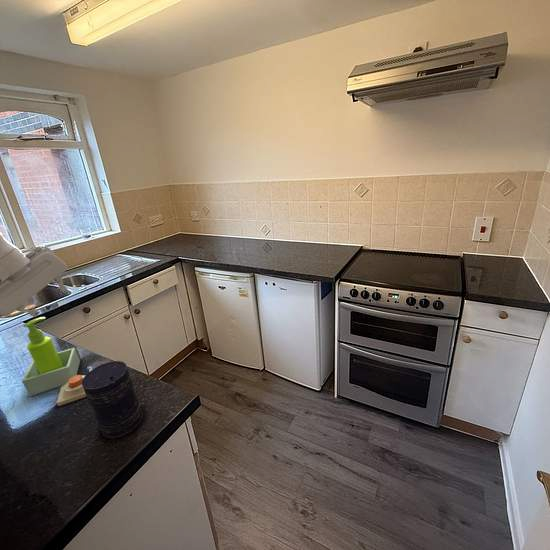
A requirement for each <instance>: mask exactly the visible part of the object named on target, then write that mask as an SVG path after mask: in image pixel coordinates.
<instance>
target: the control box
mask: <svg viewBox="0 0 550 550" xmlns="http://www.w3.org/2000/svg"><path fill="white" fill-rule="evenodd" d="M85 375H86V374H85ZM85 375H83V374H82V375H81V376H82V378H84V377H85ZM84 398H87V397H86V395H85V391H84V388H83V386H82V384H81V385H79V386H78V387H75V388H70V386H69V384H68V382H67V383H66V384H65V385H62V386H60V390H59V394H58V397H57V399H56V404H55V405H57V407H60V406H63V405H66V404H70V403H72V402H75V401H78V400H80V399H84Z"/></svg>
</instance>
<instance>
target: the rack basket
mask: <svg viewBox="0 0 550 550" xmlns="http://www.w3.org/2000/svg"><path fill="white" fill-rule="evenodd" d="M57 354H58V356H59V359H60V361H61V363H62V365H63V368H60V369H57V370H53V371H50V372H47V373H44V374H40V373H39V371H38V369H37V366H36V364H35V362H34V360H33V359H32V360H31V363H30V365H29V366H28V368H27V371H26V372H25V374H24V377H23V378H22V380H21V383H22V385H23V386H24V387H25V388H24V389H25V390H26V392H27V394H28V396H29V397H31V396H34V395H37V394H41V393H43V392H47V391H50V390H53V389H56V388H59V387H62V386H63V385H65V384H66V383H67V382H68V380H69V379H70V378H72V377H74V376H76V375H78V370H79V367H80V363H81V359H80V357H79V354H78V351H77V350H76V347H72V348H69V349H65V350H62V351H58V352H57Z"/></svg>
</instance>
